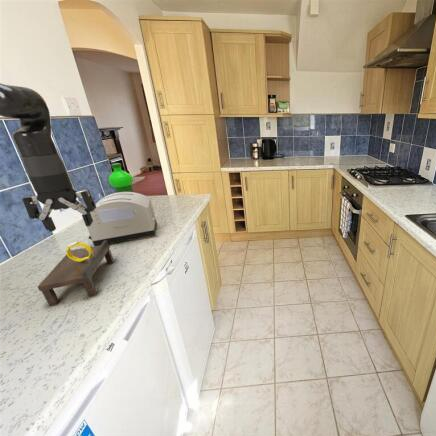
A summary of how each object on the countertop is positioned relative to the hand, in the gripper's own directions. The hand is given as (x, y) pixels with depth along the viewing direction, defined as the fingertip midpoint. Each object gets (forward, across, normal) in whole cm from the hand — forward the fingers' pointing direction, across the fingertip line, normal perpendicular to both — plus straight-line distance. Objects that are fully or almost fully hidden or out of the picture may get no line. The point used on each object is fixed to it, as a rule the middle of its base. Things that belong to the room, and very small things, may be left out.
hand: (71, 227), depth 70 cm
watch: (+11, 0, 0) cm, 11 cm away
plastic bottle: (+18, +2, -68) cm, 70 cm away
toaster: (+18, -4, -36) cm, 40 cm away
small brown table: (+18, +2, 0) cm, 18 cm away
